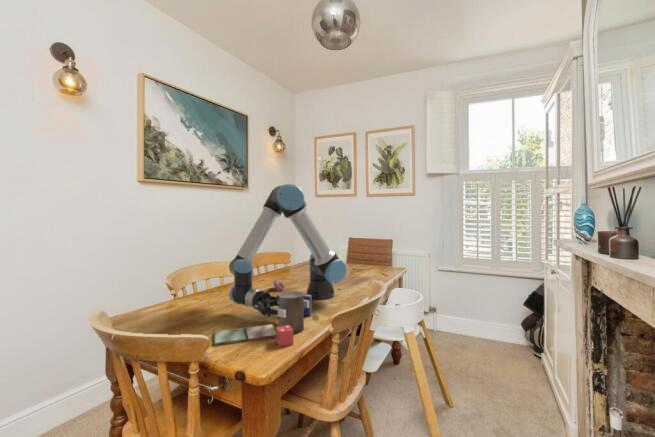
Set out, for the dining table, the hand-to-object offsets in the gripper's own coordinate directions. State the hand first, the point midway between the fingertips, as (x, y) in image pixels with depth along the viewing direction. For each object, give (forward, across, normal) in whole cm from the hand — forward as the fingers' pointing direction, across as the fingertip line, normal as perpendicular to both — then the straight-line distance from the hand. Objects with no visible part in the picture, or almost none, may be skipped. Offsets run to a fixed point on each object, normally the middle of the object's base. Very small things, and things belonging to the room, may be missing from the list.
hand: (297, 308), depth 116 cm
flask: (-10, -15, -9) cm, 20 cm away
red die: (+3, +10, -8) cm, 14 cm away
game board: (-13, +14, -8) cm, 21 cm away
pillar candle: (-3, 0, -9) cm, 9 cm away
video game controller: (-48, -40, -9) cm, 63 cm away
